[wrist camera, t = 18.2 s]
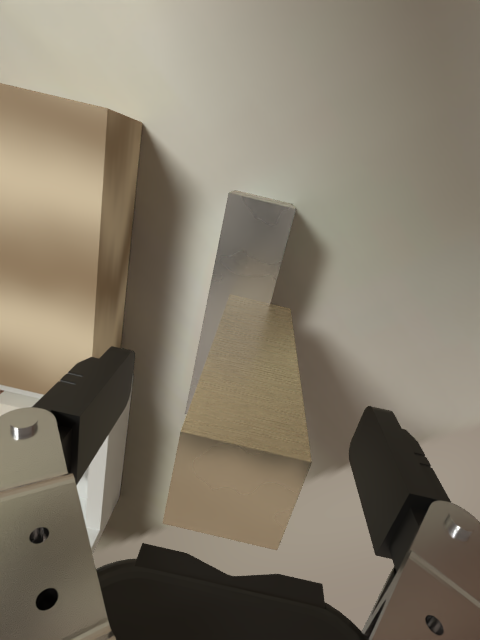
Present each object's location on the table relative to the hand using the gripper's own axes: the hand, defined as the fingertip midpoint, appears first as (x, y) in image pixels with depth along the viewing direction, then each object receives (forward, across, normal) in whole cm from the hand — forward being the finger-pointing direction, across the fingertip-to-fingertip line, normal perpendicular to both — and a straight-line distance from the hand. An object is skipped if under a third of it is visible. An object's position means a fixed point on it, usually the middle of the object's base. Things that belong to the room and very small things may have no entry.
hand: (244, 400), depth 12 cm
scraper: (+9, +1, 0) cm, 9 cm away
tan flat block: (+9, +14, -1) cm, 16 cm away
